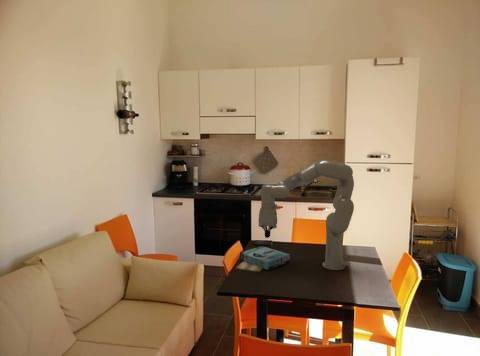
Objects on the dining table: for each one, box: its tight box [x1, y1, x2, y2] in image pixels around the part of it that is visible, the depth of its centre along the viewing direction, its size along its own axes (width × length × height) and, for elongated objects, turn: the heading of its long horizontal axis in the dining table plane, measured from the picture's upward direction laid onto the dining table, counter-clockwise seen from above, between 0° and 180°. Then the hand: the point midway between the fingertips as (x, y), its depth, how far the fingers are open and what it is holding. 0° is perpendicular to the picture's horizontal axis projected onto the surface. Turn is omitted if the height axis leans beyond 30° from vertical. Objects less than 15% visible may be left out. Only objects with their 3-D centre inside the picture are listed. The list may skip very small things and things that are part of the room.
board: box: [235, 261, 264, 273], centre depth 218 cm, size 14×22×1 cm, turn 158°
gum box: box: [239, 245, 291, 271], centre depth 221 cm, size 20×5×23 cm
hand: (267, 237), depth 213 cm, fingers closed
